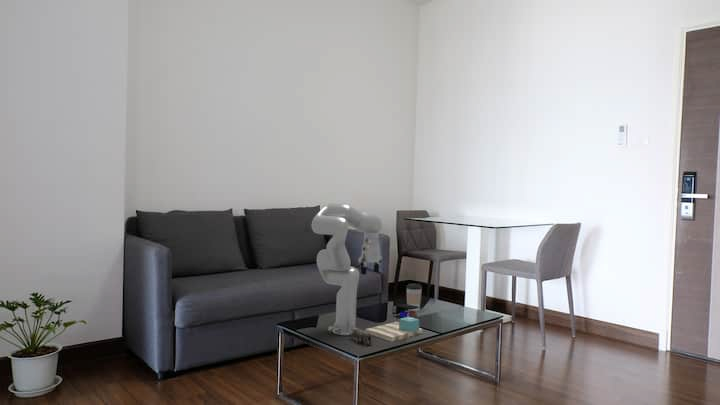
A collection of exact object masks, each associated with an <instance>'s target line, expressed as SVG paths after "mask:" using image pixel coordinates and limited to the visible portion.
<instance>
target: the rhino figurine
mask: <svg viewBox="0 0 720 405" xmlns="http://www.w3.org/2000/svg"><path fill="white" fill-rule="evenodd" d="M351 330H352V329H351ZM352 331H353V332H352V333H351V332H350V334H351V335H350V336H351V339H354V338H356V342H355V343H358V344H359V343H363V344H362V346H367V343H369V344H368V346H373V344H372V335H371V334H370V333H369V332H367V331H366V330H362V329H361V328H358V327H357V329H355V330H352Z"/></svg>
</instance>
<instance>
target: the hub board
mask: <svg viewBox="0 0 720 405" xmlns="http://www.w3.org/2000/svg"><path fill="white" fill-rule="evenodd" d="M423 330H424V328H421V327H419V330H417V331H413V332H407V331H403V330H400V329H399V321H394V322H390V323H385V324H382V325H381V324H380V325H377V326H373V327H370V328H365V331H367V332H369V333H370V334H371V337H376V338H379V339H383V340H385V341H389V342H392V343H393V342H397V341H399V340H403V339H407V338H410V336H411V337H414V336H417V334H418V335H421V334H423V333H424V331H423ZM420 333H421V334H420Z"/></svg>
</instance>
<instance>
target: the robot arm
mask: <svg viewBox="0 0 720 405" xmlns="http://www.w3.org/2000/svg"><path fill="white" fill-rule="evenodd" d="M349 227H351V228H354V229H355V231H356V232H359V233H363V240H362V241H363V243H362V248H361V256H360V257H359V258H357V261H358V264H359V266H360V272H359V270H358V269H357V268H356V267H354V266H351V259H350V254H349V253H348V251H347V248H346V247H347V246H346V245H345V244H346V240H347V235H348V230H349ZM382 229H383V222H382V220H381V219H380V217H378V216H377V215H374V214H371V213H367V212H364V211H361V210H359V209H356V208H355V207H353V206H351V205H349V204H346V203H328V204H326V205H325V206H323V207H322V208H321V209H320V210H319V212H318V213H316V215H315V216H314V217H313V219H312V222H311V230H312V232H314V233H315V234H317V235H327V236H328V235H329V236H332V237H331V238H330V239H329V241H328V242H327V243H326V246H325V247H326V249H325V248H324V249H321V250H320V251H318V253H317V256H316V265H317V268H318V270H319V273H320V275H321V277H322V280H323V281H324V283H326V284H328V285H334V286H340V287H341V288H340V289H339V290H338V291H337V293H336V304H335V306H336V307H335V322H334V323H333V325H331V326H328V327H327V329H328V331H329V332H330V331H332V332H331V333H333V334H335V335H338V336H351V334H350V332H351V333H352V332H353V331H352V330H355V329H358V327H357V326H356V325H357V324H356V323H357V322H356V320H357V319H356V318H357V296H358V295H357V294H358V286H359V285H358V284H359V280H360V274H361V275H367V264H373V263H374V265H373V272H374V273H377V274H379V273H380V265H381V263H382V260H383V255H381V247H380V244H379V233H380V232H381V231H382ZM351 329H352V330H351Z"/></svg>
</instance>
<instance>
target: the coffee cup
mask: <svg viewBox="0 0 720 405" xmlns="http://www.w3.org/2000/svg"><path fill="white" fill-rule="evenodd" d="M422 290H423V286H422V285H421V284H420V283H414V282H413V283H412V282H411V283H408V284H407V285H406V304H408V305H412V306H417V307H419V308H416V309H412V310H410V311H414V312H419V311H420V308H421V301H422ZM407 311H409V309H408V310H407ZM410 311H409V312H410Z"/></svg>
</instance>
